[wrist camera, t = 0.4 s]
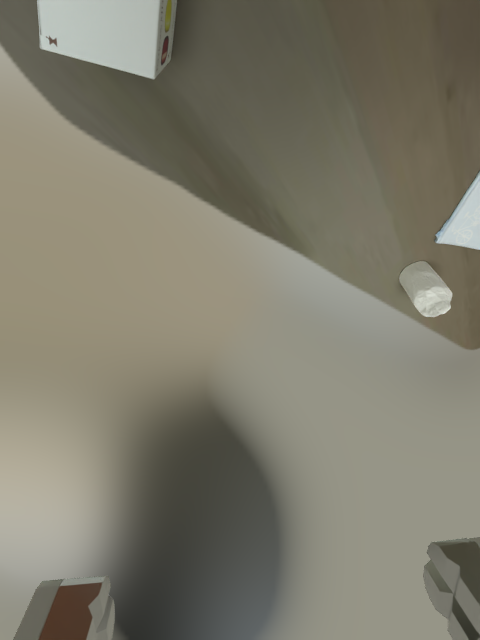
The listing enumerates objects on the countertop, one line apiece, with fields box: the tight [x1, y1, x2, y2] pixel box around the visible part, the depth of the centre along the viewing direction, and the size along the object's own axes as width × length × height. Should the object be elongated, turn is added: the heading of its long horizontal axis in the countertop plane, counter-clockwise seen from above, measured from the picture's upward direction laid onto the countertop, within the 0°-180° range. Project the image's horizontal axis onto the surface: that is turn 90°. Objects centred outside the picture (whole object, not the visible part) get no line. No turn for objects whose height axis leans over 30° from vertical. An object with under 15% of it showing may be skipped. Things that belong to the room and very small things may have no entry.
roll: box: [399, 261, 452, 317], centre depth 61 cm, size 6×12×6 cm
